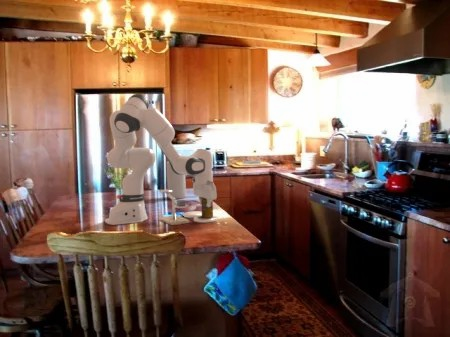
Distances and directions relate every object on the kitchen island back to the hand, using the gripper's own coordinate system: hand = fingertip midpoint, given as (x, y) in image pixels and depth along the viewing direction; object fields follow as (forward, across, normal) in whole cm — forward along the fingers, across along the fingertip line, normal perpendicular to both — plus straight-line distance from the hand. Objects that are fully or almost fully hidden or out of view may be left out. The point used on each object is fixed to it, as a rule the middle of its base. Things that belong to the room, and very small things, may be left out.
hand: (205, 205), depth 244 cm
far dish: (+8, +14, 0) cm, 16 cm away
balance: (+8, +7, +15) cm, 18 cm away
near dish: (+8, 0, 0) cm, 8 cm away
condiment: (+6, 0, 0) cm, 7 cm away
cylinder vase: (+8, +76, -17) cm, 79 cm away
